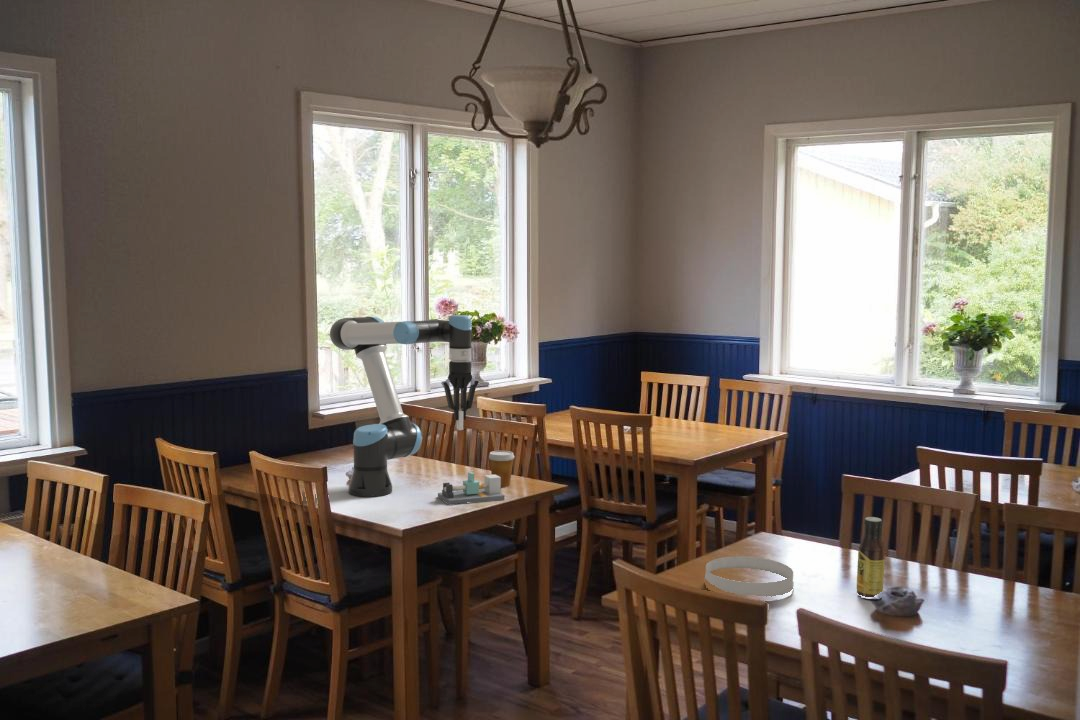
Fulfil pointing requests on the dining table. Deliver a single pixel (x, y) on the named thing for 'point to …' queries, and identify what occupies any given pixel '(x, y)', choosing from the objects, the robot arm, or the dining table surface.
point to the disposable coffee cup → (502, 465)
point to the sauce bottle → (871, 559)
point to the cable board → (487, 494)
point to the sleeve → (471, 485)
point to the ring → (748, 587)
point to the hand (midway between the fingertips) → (459, 429)
